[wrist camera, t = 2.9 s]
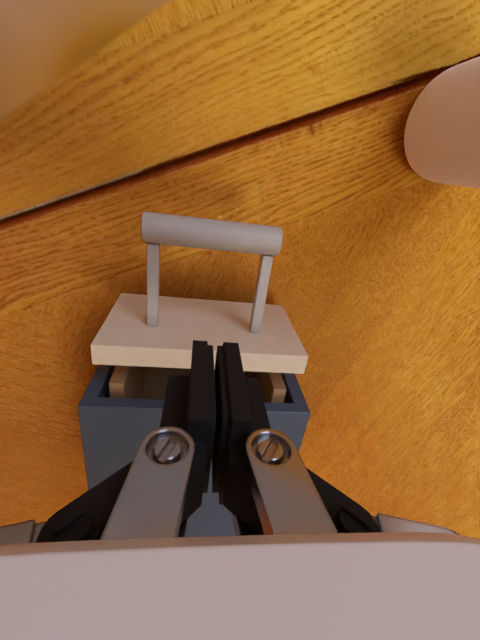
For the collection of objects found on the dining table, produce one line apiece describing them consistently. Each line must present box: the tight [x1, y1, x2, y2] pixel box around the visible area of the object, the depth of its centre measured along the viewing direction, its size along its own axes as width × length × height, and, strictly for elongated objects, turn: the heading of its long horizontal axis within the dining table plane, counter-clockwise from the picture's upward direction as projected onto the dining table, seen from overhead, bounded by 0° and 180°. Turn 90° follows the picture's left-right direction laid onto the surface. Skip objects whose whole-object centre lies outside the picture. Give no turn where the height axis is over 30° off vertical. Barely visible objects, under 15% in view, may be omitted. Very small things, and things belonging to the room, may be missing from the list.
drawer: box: [90, 212, 308, 403], centre depth 21 cm, size 20×11×7 cm, turn 173°
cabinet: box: [78, 365, 310, 537], centre depth 24 cm, size 15×13×9 cm
